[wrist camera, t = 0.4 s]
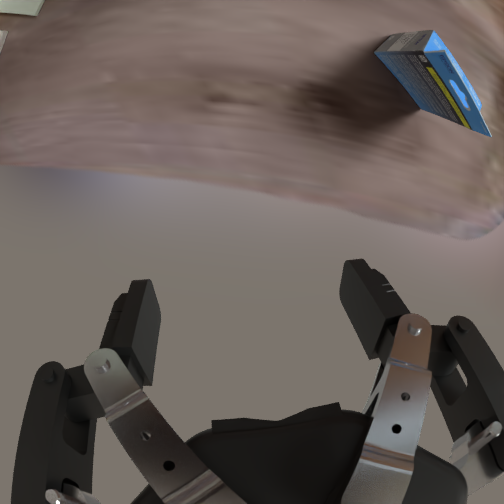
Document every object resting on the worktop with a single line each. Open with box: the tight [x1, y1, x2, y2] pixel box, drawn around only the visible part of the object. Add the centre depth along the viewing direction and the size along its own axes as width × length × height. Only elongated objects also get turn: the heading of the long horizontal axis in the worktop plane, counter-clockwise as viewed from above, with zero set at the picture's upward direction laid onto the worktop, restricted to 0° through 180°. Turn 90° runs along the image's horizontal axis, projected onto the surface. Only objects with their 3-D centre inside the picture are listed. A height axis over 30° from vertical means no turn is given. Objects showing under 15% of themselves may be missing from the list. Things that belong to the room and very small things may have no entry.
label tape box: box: [374, 30, 492, 137], centre depth 18 cm, size 9×4×12 cm, turn 51°
